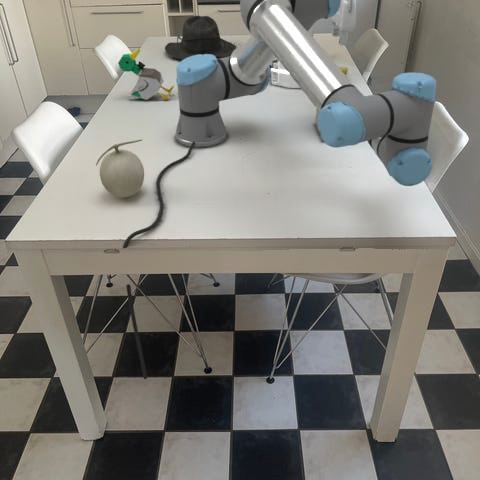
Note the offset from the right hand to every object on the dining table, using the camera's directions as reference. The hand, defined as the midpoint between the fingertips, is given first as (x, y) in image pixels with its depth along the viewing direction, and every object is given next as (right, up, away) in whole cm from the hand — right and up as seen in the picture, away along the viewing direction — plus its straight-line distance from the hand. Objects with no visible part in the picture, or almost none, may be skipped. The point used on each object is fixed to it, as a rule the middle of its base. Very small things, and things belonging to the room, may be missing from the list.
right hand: (338, 40), depth 145 cm
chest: (+1, -24, +12) cm, 26 cm away
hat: (-46, +29, +89) cm, 104 cm away
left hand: (+2, -24, -21) cm, 32 cm away
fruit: (-57, -45, -17) cm, 75 cm away
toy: (-61, -6, +39) cm, 72 cm away
